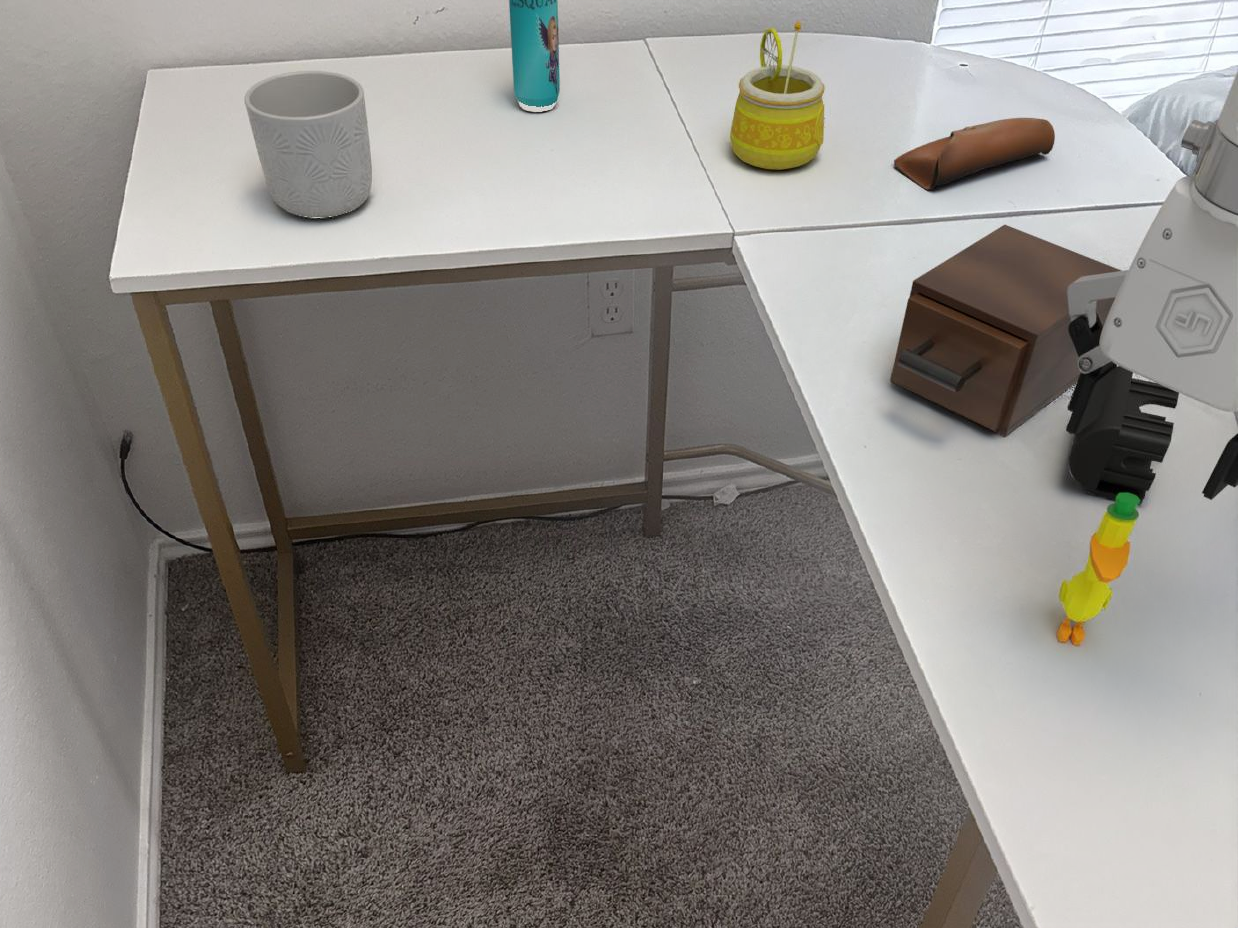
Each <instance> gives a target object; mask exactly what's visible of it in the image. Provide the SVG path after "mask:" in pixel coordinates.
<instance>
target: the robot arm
mask: <svg viewBox="0 0 1238 928" xmlns="http://www.w3.org/2000/svg"><path fill="white" fill-rule="evenodd" d="M1232 81H1233V82H1232V83H1231V86H1230V88H1229V90H1228V94H1227V96H1226V98H1225V100H1224V103H1223V106H1222V108H1221V112H1220V113H1219V116H1218V119H1216V120H1214V121H1211V120H1209V121H1207V122H1203V121H1200V120H1197V119H1194V120H1192V121H1191V122H1190V124H1189V125H1188V127H1187V128H1186V129H1185V132H1184V134H1183V136H1182V139H1181V143H1180V146H1181V148H1184V149H1187V150H1190V151H1191V153H1192V155H1195V156H1196V159H1195V165H1194V168H1193V170H1192V172H1191V173H1190V174H1188V175H1185V176H1183V177H1181V178H1180V179H1177V181H1176V182H1175V184H1174V185H1173V187H1172V189H1170V191H1169V193H1168V194H1167V196H1166V198H1165V199H1164V202H1163V203H1162V204H1161V206H1160V208H1159V210H1158V212H1157V213H1156V215H1155V217H1154V219H1153V221H1152V222H1151V224H1150V226H1149V228H1148V230H1147V232H1146V234H1145V236H1144V238H1143V240H1142V242H1141V244H1140V246H1139V247H1138V249H1137V252H1136V254H1135V256H1134V257H1133V260H1132V262H1131V263H1130V265H1129V268H1128V269H1126V270H1122V271H1117V272H1110V273H1104V274H1097V275H1090V276H1083V277H1080V278H1079V279H1077V280H1076V281H1074V282H1073V283H1071V284H1070V285H1069V286H1068V287H1067V291H1066V293H1067V304H1068V314H1069V317H1070V321H1071V323H1070V324H1069V327H1068V331H1069V334H1070V337H1071V339H1072V342H1073V344H1074V347H1075V349H1076V352H1077V354H1078V357H1079V358H1078V360H1077V369H1078V370H1079V371H1080V372H1081V373H1080V376H1079V378H1078V381H1077V382H1076V383H1075V387H1074V389H1073V391H1072V394H1071V397H1070V399H1069V403H1068V406H1067V411H1069V412H1071V415H1070V418H1069V420H1068V422H1067V425H1066V428H1065V432H1067V433H1069V434H1071V435H1074V434H1075V433H1076V434H1078V433H1079V432H1080V431H1081V430H1083V429H1084V428H1085V427H1087V426H1088V425H1089V424H1090V423H1092V422H1093V421H1094V420H1095V419H1097V417H1098V416H1099V414H1100V412H1101V409H1102V407H1103V404H1104V402H1105V399H1106V397H1107V394H1108V392H1109V389H1110V387H1111V384H1112V382H1113V379H1114V377H1115V374H1116V372H1117V369H1118V366H1120V367H1122V368H1124V369H1127V370H1129V371H1131V372H1133V374H1136V375H1138V376H1139V377H1142V378H1144V379H1146V380H1149V381H1150V382H1154V383H1158V384H1160V385H1162V386H1165V387H1167V388H1169V389H1171V390H1174V391H1176V392H1178V393H1179V394H1180V395H1183V396H1185V397H1187V398H1190V399H1192V400H1194V401H1197V402H1199V403H1201V404H1204V405H1207V406H1209V407H1211V408H1214V409H1217V410H1220V411H1223V412H1230V413H1233V414H1234V418H1235V423H1236V425H1237V427H1238V70H1237V71H1236V73H1235V76H1234V79H1233V80H1232ZM1113 298H1115V300H1114V302H1113V304H1112V307H1111V309H1110V311H1109V314H1108V316H1107V318H1106V321H1105V324H1104V326H1102V323H1101V321H1100V318H1099V316H1098V314H1097V313H1096V308H1097V306H1096V301H1097V300H1105V299H1113ZM1228 486H1230V487H1232V488H1237V487H1238V432H1237V433H1236V434H1235V435H1234V436H1232V437H1231V438H1230V439H1229V440H1228V441H1227V443H1226V444H1225V446H1224V447H1223V450H1222V452H1221V454H1220V456H1219V457H1218V460H1217V462H1216V464H1215V465H1214V468H1213V470H1212V472H1211V474H1210V476H1209V478H1208V479H1207V481H1206V483H1205V485H1204V488H1203V489H1202V491H1201V493H1202V494H1203V497H1204V498H1206V499H1208V500H1210V501H1212V500H1213V499H1215V497H1217V496H1218V495H1219V494H1220V493H1221V492H1222V491H1223V490H1225V488H1227V487H1228Z"/></svg>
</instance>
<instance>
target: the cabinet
mask: <svg viewBox="0 0 1238 928" xmlns="http://www.w3.org/2000/svg"><path fill="white" fill-rule="evenodd" d="M1117 271H1123V270H1121V269H1119V268H1116V267H1114V266H1111V265H1109V264H1106V263H1104V262H1101V261H1099V260H1096V259H1094V258H1091V257H1089V256H1086V255H1083V254H1081V253H1078V252H1076V251H1074V250H1071V249H1068V248H1066V247H1063V246H1061V245H1058V244H1057V243H1053V242H1050V241H1048V240H1046V239H1043V238H1041V237H1037V236H1036V235H1033V234H1030V233H1028V232H1026V231H1023V230H1020V229H1018V228H1016V227H1013V226H1010V225H1007V224H1003V225H1001V226H1000V227H998V228H996V229H995V230H993V231H991V232H990V233H988V234H987V235H985V236H984V237H982V238H980V239H979V240H977V241H976V242H974V243H972V244H970V245H969V246H967V247H965V248H964V249H962V250H960V251H959V252H957V253H956V254H954V255H953V256H951V257H949V258H948V259H946V260H945V261H943V262H941V263H940V264H937V265H936V266H935V267H933V268H931V269H930V270H928V271H926V272H925V273H923V274H921V275H920V276H918V277H917V278H915V279H913V280H912V284H911V289H910V293H909V296H908V298H910V297H911V296H913V295H915V294H918V295H921V296H923V297H925V298H927V299H930V298H932V299H934V300H936V301H939V302H941V303H943V304H946V305H948V306H950V307H952V308H955V309H957V310H959V311H961V312H964V313H966V314H968V315H971V316H973V317H975V318H977V319H980V320H982V321H984V322H987V323H989V324H991V325H993V326H996V327H998V328H1000V329H1002V330H1005V331H1007V332H1009V333H1012V334H1014V335H1016V336H1018V337H1021V338H1023V339H1025V340H1027V343H1028V345H1027V348H1026V351H1025V354H1024V358H1023V361H1022V364H1021V367H1020V370H1019V373H1018V376H1017V380H1016V383H1015V386H1014V389H1013V392H1012V395H1011V398H1010V402H1009V405H1008V408H1007V411H1006V414H1005V417H1004V420H1003V424H1002V426H1000V427H999V428H998V429H996V430H995V431H994V430H992V429H990V428H988V427H986V426H984V425H982V424H979V423H977V422H975V421H973V420H971V419H969V418H967V417H965V416H963V415H961V414H959V413H957V412H955V411H953V410H951V409H949V408H946V407H944V406H942V405H940V404H938V403H936V402H934V401H932V400H930V399H928V398H926V397H924V396H922V395H920V394H918V393H916V392H913V391H911V390H909V389H907V388H905V387H903V386H901V385H899V384H897V383H895V382H893V381H891V380H890V382H891V383H893V384H895V385H897V386H899V387H901V388H903V389H905V390H908V391H909V392H912V393H914V394H916V395H918V396H920V397H922V398H924V399H926V400H928V401H931V402H932V403H934V404H936V405H939V406H941V407H943V408H945V409H947V410H948V411H951V412H953V413H955V414H957V415H959V416H961V417H963V418H965V419H967V420H970V421H971V422H973V423H975V424H977V425H980V426H982V427H984V428H985V429H988V430H990V431H992V432H994V433H996V434H999V435H1000V436H1003V437H1007V436H1008V435H1010V434H1011V433H1012V432H1013V431H1015V430H1016V429H1017V428H1019V427H1020V426H1022V425H1023V424H1024V423H1025V422H1026V421H1028V420H1030V419H1031V418H1032V417H1033V416H1034V415H1036V414H1037V413H1039V412H1040V411H1041V410H1042V409H1044V408H1045V407H1047V406H1048V405H1049V404H1050V403H1051V402H1053V401H1055V400H1056V399H1057V398H1058V397H1060V396H1061V395H1062V394H1063V393H1065V392H1066V391H1068V389H1070V388H1071V387H1073V386H1074V385H1076V384H1077V381H1078V378H1079V376H1080V373H1081V372H1080V371H1079V370H1078V369H1077V360H1078V358H1079V357H1078V354H1077V352H1076V349H1075V347H1074V344H1073V342H1072V339H1071V337H1070V334H1069V331H1068V327H1069V324H1070V323H1071V321H1070V317H1069V314H1068V304H1067V293H1066V291H1067V287H1068V286H1069V285H1070V284H1071V283H1073V282H1074V281H1076V280H1077V279H1079V278H1080V277H1083V276H1090V275H1097V274H1104V273H1110V272H1117ZM1114 300H1115V298H1113V299H1105V300H1097V301H1096V306H1097V308H1096V313H1097V314H1098V316H1099V318H1100V321H1101V323H1102V326H1104V324H1105V321H1106V318H1107V316H1108V314H1109V311H1110V309H1111V307H1112V304H1113V302H1114Z"/></svg>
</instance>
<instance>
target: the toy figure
mask: <svg viewBox="0 0 1238 928" xmlns="http://www.w3.org/2000/svg"><path fill="white" fill-rule="evenodd" d="M1140 501H1141V500H1140V499H1139V498H1138V497H1137V496H1136V495H1134V494H1131V493H1119V494H1118V495H1117V496H1116V500H1115V501H1114V503H1111V504H1109V505H1108V506H1107V507H1106V511H1105V512H1104V514H1103V516H1102V518H1101V521H1100V523H1099V526H1098V528H1097V530H1096V532H1094V533H1093V534H1092V535H1091V537H1090V541H1089V553H1088V557H1087V561H1086V564H1085V568H1084V570H1083V571H1081V572H1079V573H1077V574H1074V575H1073V577H1072V578H1071V579H1070V580H1069V582H1068V580H1067V579H1063V580H1062V581H1061V584H1060V587H1059V594H1058V600H1059V602H1060V603H1061V604H1062V607H1063V609H1064V612H1065V614H1066V616H1065V619H1064V621H1063V622H1061V623H1060V626H1059V628H1058V630H1057V632H1056V633H1057V634H1056V637H1057V640H1058V642H1059V643H1067V641H1069V639H1070V641H1071V643H1072V645H1074V646H1081V645H1082V643H1083V641H1084V639H1085V636H1086V631H1085V629H1084V628H1083V626H1084V624H1085V622H1086V621H1089V620H1090V619H1093V618H1095V617H1097V616H1098V615H1099V614H1100V612H1101V611H1102V610H1104V611H1105V610H1107V608H1108V606H1109V603H1110V601H1111V599H1112V596H1113V594H1114V593H1113V591H1112V588H1111V587H1110V586H1109V583H1111V582H1113V581H1114V580H1116V579H1119V578H1120V576H1121V574H1122V573H1123V572H1124V570H1125V568H1126V566H1127V565H1128V562H1129V557H1130V553H1131V542H1130V541H1129V537H1130V535H1131V533H1132V531H1133V529H1134V527H1135V525H1136V523H1137V520H1138V518H1139V516H1140V512H1139V510H1138V509H1137V507H1138V506H1139V505H1138V504H1139V502H1140ZM1071 621H1074V622H1076V623H1077V624H1074V625H1072V626H1073V627H1071V624H1070V623H1071Z"/></svg>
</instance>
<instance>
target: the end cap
mask: <svg viewBox="0 0 1238 928" xmlns="http://www.w3.org/2000/svg"><path fill="white" fill-rule="evenodd" d="M1117 366H1118V365H1117ZM1133 375H1134V373H1133V372H1131V371H1129V370H1127V369H1124V368H1122V367H1120V366H1118V369H1117V372H1116V374H1115V377H1114V379H1113V382H1112V384H1111V387H1110V389H1109V392H1108V394H1107V397H1106V399H1105V402H1104V404H1103V407H1102V409H1101V412H1100V414H1099V416H1098V417H1097V419H1095V420H1094V421H1093V422H1092V423H1090V424H1089V425H1088V426H1087V427H1085V428H1084V429H1083V430H1081V431H1080V432H1079V433H1078V434H1076V433H1075V434H1073V438H1072V442H1071V445H1070V450H1069V454H1068V459H1067V463H1068V464H1067V465H1068V469H1069V473H1070V475H1071V477H1072V479H1074V481H1075V482H1076V483H1077V484H1079V486H1080V487H1081V488H1082V489H1083V490H1084V491H1085V492H1086V493H1087V494H1089V495H1092V496H1094V497H1096V498H1101V499H1105V500H1106V499H1107V500H1110V501H1114V502H1115V500H1116V496H1117V495H1118V494H1119V493H1131V494H1134V495H1136V496H1137V497H1138V498H1139V499H1140V500H1141V501H1140V502H1139V504H1138V505H1137V506H1139V505H1141V504H1143V503H1144V499H1145V498H1146V494H1147V492H1149V491H1150V489H1151V487H1152V485H1153V483H1154V480H1155V479H1156V476H1157V473H1156V472H1154V468H1151V467H1152V462H1157V463H1163V461H1164V459H1165V457H1166V455H1167V453H1168V450H1169V447H1170V446H1171V443H1172V442H1171V441H1172V438H1173V437H1172V436H1173V431H1174V425H1175V423H1174V422H1171V421H1167V417H1166V416H1163V415H1159V414H1158V415H1157V414H1152V413H1148V412H1145V411H1144V412H1143V411H1142V410H1141V407H1143V406H1146V405H1154V406H1159V407H1164V408H1170V409H1174V410H1176V408H1177V406H1178V403H1179V395H1180V393H1178V392H1176V391H1174V390H1171V389H1169V388H1167V387H1165V386H1162V385H1160V384H1158V383H1155V382H1153V381H1150V380H1149V381H1148V380H1145V379H1144V380H1143V379H1138V378H1135V377H1134V378H1133Z"/></svg>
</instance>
